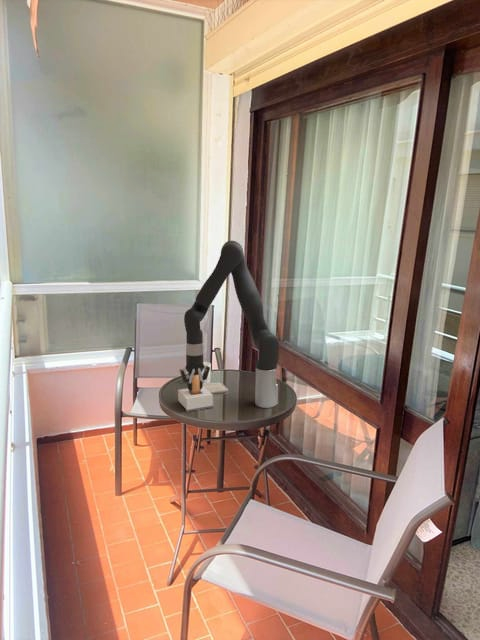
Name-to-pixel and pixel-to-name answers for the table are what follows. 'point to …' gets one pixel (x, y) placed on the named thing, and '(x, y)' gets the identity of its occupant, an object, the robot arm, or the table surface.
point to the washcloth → (216, 388)
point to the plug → (195, 385)
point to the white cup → (208, 373)
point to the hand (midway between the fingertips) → (195, 389)
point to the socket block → (195, 399)
